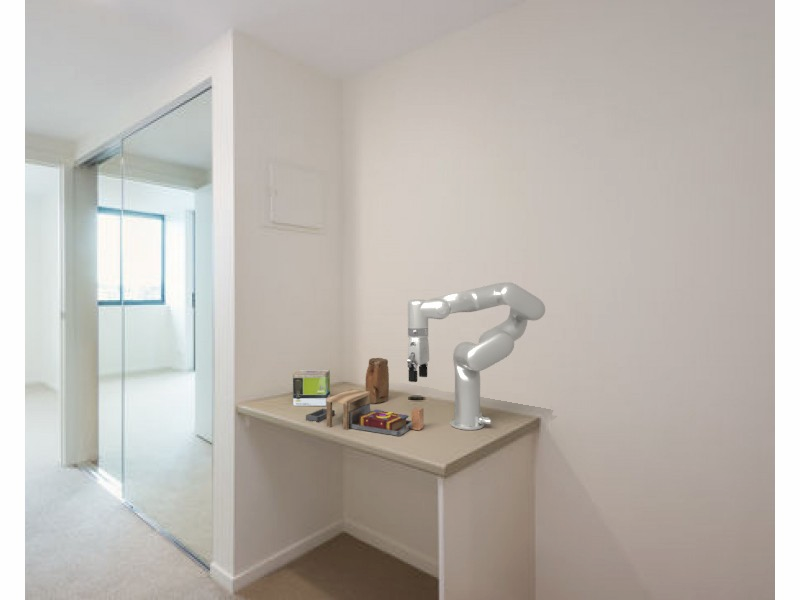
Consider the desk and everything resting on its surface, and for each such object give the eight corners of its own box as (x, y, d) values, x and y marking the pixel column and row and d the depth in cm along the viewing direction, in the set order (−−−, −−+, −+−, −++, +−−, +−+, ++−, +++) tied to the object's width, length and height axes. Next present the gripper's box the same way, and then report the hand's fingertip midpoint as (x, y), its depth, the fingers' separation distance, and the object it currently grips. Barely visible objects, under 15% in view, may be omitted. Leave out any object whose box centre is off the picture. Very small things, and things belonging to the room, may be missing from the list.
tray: (424, 426, 158) (424, 407, 158) (409, 437, 146) (409, 417, 146) (367, 418, 169) (367, 400, 169) (348, 427, 156) (348, 408, 156)
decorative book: (391, 435, 150) (391, 421, 150) (355, 427, 158) (355, 414, 158) (408, 427, 159) (408, 414, 159) (374, 420, 168) (374, 407, 168)
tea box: (330, 401, 197) (330, 369, 197) (326, 406, 187) (326, 373, 187) (298, 400, 198) (298, 369, 198) (292, 406, 188) (292, 373, 187)
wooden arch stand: (369, 417, 170) (369, 391, 170) (346, 429, 155) (347, 401, 155) (350, 415, 174) (350, 389, 174) (326, 426, 159) (326, 398, 159)
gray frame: (334, 415, 174) (334, 410, 174) (318, 422, 164) (318, 417, 164) (322, 413, 176) (322, 408, 176) (305, 420, 167) (305, 415, 167)
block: (378, 398, 203) (378, 356, 202) (390, 400, 198) (390, 358, 198) (363, 402, 194) (363, 359, 194) (375, 405, 189) (375, 360, 189)
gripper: (418, 335, 147) (418, 384, 147) (435, 331, 162) (435, 375, 163) (398, 334, 150) (399, 382, 150) (417, 330, 166) (417, 374, 166)
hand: (418, 379), depth 156 cm, fingers open, 9 cm apart
